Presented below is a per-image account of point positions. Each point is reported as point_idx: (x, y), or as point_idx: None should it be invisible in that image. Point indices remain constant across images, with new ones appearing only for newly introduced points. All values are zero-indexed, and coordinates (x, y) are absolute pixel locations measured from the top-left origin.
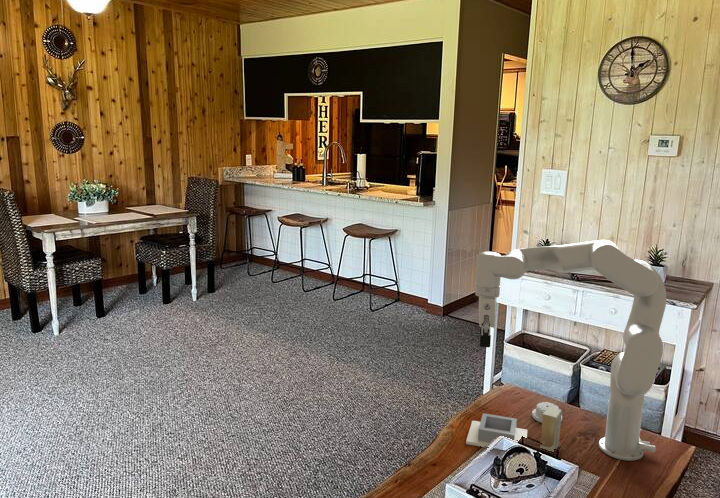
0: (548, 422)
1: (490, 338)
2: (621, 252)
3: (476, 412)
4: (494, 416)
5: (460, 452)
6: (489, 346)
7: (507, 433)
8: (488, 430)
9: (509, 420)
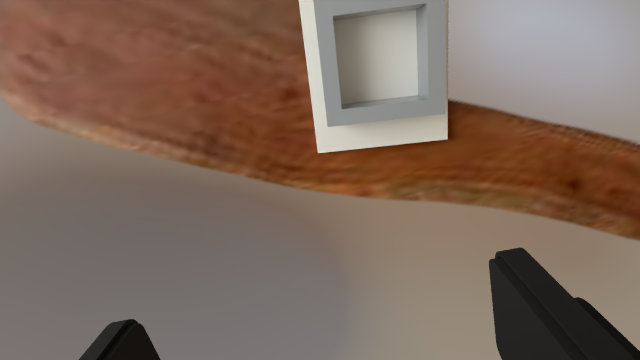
0: None
1: (619, 345)
2: None
3: (246, 155)
4: (332, 83)
5: (495, 139)
6: (522, 256)
7: (440, 9)
8: (442, 80)
9: (333, 25)
